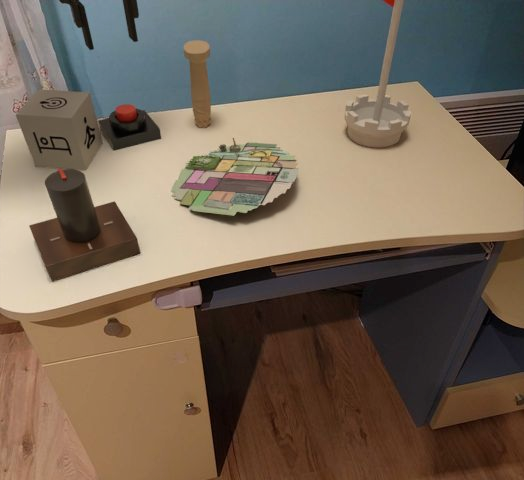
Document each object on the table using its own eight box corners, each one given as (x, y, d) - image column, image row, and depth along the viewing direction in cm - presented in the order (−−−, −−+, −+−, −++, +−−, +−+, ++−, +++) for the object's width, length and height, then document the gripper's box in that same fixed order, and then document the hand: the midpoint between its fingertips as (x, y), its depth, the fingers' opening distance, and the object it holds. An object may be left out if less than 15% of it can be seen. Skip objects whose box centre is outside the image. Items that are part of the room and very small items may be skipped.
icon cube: (35, 167, 94) (15, 114, 87) (54, 140, 101) (38, 89, 93) (86, 170, 94) (71, 118, 86) (102, 143, 100) (89, 92, 92)
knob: (105, 235, 77) (89, 182, 69) (69, 247, 75) (49, 193, 68) (94, 216, 80) (78, 163, 72) (59, 226, 78) (39, 173, 71)
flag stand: (398, 118, 108) (437, -56, 84) (411, 149, 100) (459, -34, 76) (338, 119, 107) (361, -56, 84) (347, 150, 99) (375, -34, 76)
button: (114, 115, 100) (112, 106, 99) (133, 111, 101) (131, 102, 100) (120, 124, 98) (118, 115, 96) (140, 119, 99) (138, 110, 98)
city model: (180, 157, 101) (173, 128, 96) (295, 144, 99) (294, 114, 94) (167, 237, 85) (157, 207, 80) (303, 223, 83) (301, 192, 79)
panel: (52, 281, 75) (45, 265, 72) (35, 240, 81) (28, 224, 78) (140, 253, 79) (136, 237, 76) (118, 216, 85) (114, 200, 82)
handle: (191, 132, 103) (182, 53, 91) (192, 117, 107) (184, 40, 96) (214, 132, 103) (209, 53, 92) (214, 117, 107) (209, 40, 96)
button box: (100, 130, 103) (95, 111, 100) (146, 120, 106) (142, 101, 103) (114, 150, 98) (109, 131, 95) (161, 139, 101) (158, 119, 98)
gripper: (134, -142, 76) (157, 26, 94) (-3, -133, 70) (50, 45, 88) (152, -135, 72) (172, 40, 90) (8, -125, 66) (60, 61, 84)
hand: (111, 42), depth 89 cm, fingers open, 7 cm apart
